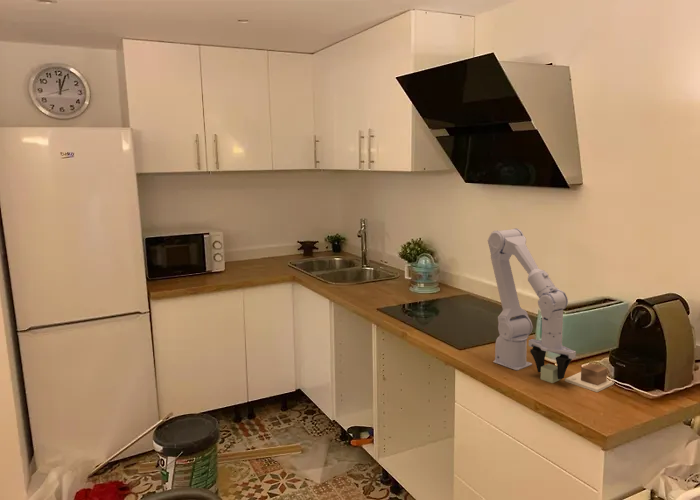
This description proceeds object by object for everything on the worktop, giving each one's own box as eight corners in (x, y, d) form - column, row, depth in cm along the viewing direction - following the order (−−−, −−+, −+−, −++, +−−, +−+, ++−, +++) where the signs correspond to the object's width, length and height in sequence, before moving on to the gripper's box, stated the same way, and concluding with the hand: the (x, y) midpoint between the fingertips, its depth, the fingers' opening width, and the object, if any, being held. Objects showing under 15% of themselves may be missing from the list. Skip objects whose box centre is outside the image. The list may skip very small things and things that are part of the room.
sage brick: (540, 379, 159) (540, 366, 159) (548, 376, 161) (548, 363, 161) (552, 383, 156) (552, 370, 155) (560, 380, 158) (560, 367, 158)
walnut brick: (580, 380, 155) (581, 367, 155) (590, 375, 158) (590, 363, 158) (596, 385, 151) (597, 372, 151) (606, 381, 154) (607, 368, 154)
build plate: (564, 381, 157) (564, 378, 157) (583, 372, 163) (583, 369, 163) (597, 392, 149) (597, 388, 149) (615, 383, 155) (615, 379, 154)
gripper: (522, 328, 160) (521, 371, 162) (566, 340, 148) (564, 386, 150) (537, 323, 164) (535, 365, 166) (580, 335, 152) (578, 379, 154)
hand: (550, 374), depth 158 cm, fingers open, 6 cm apart
